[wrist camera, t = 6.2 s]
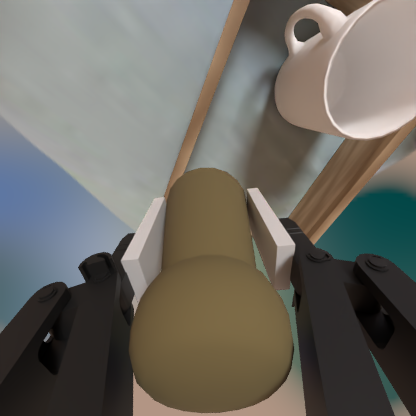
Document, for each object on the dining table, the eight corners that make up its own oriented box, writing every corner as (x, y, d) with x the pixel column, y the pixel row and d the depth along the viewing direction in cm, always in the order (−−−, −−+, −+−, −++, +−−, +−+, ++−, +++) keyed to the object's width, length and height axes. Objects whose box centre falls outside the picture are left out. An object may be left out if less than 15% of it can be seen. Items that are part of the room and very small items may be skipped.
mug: (313, 138, 28) (379, 159, 17) (241, 95, 25) (269, 90, 15) (365, 65, 24) (490, 36, 13) (286, 5, 21) (368, -91, 11)
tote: (168, 185, 30) (160, 206, 24) (257, -62, 19) (285, -144, 12) (285, 229, 35) (303, 256, 29) (415, 53, 23) (493, 35, 17)
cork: (262, 206, 15) (373, 395, 5) (205, 250, 17) (209, 449, 7) (208, 148, 13) (223, 281, 3) (150, 205, 15) (44, 401, 5)
